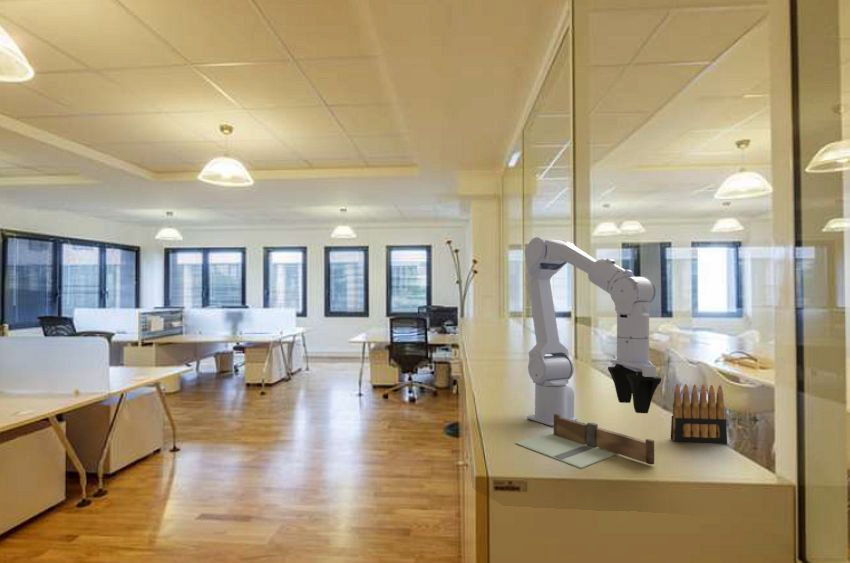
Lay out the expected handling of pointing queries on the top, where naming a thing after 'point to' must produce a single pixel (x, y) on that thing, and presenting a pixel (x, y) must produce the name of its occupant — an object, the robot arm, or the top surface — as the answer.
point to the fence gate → (626, 445)
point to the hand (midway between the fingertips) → (632, 407)
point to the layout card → (566, 450)
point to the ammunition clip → (698, 417)
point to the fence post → (576, 430)
